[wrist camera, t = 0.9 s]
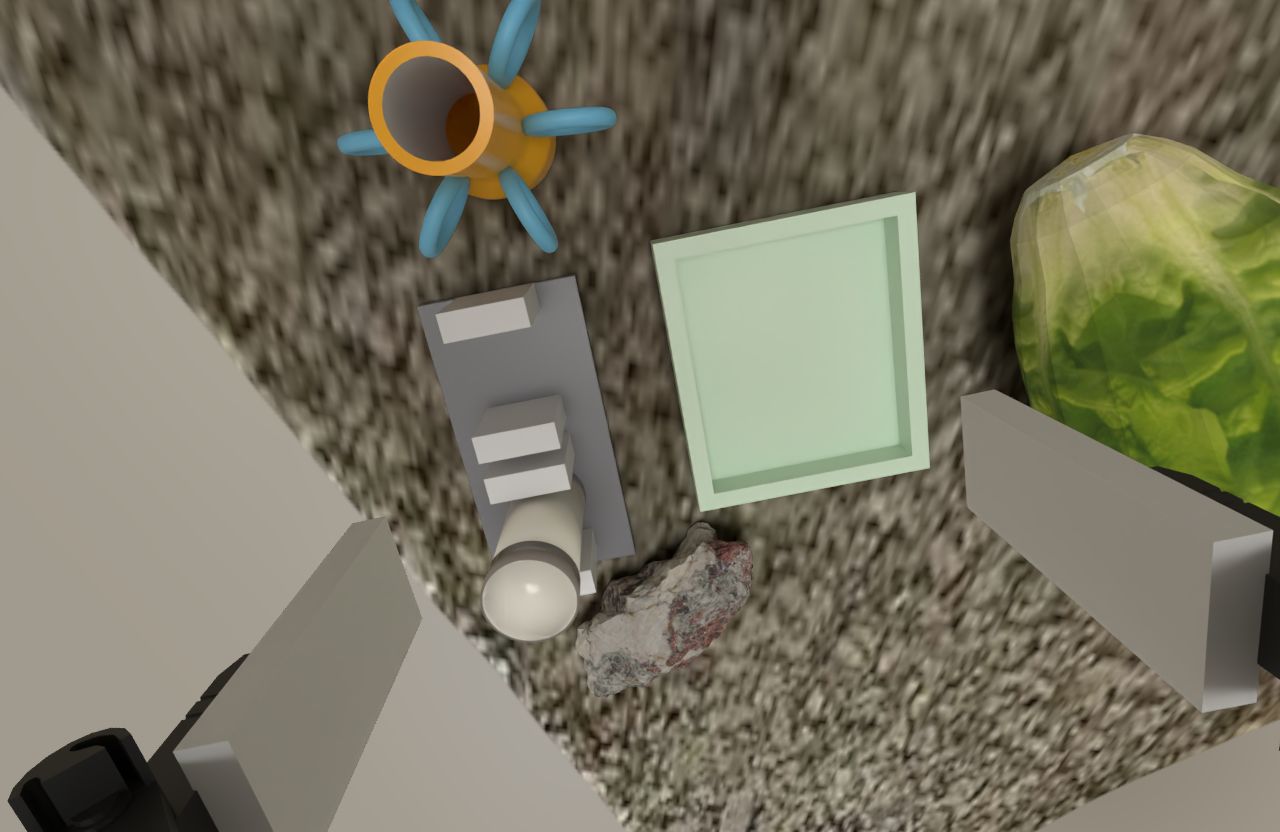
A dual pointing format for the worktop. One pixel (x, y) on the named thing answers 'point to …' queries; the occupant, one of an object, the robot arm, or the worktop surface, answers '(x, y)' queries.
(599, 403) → the panel
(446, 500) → the worktop surface
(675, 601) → the mineral rock
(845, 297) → the tray
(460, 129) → the orange and blue piece
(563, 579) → the cylinder
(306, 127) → the worktop surface
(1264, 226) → the lettuce
